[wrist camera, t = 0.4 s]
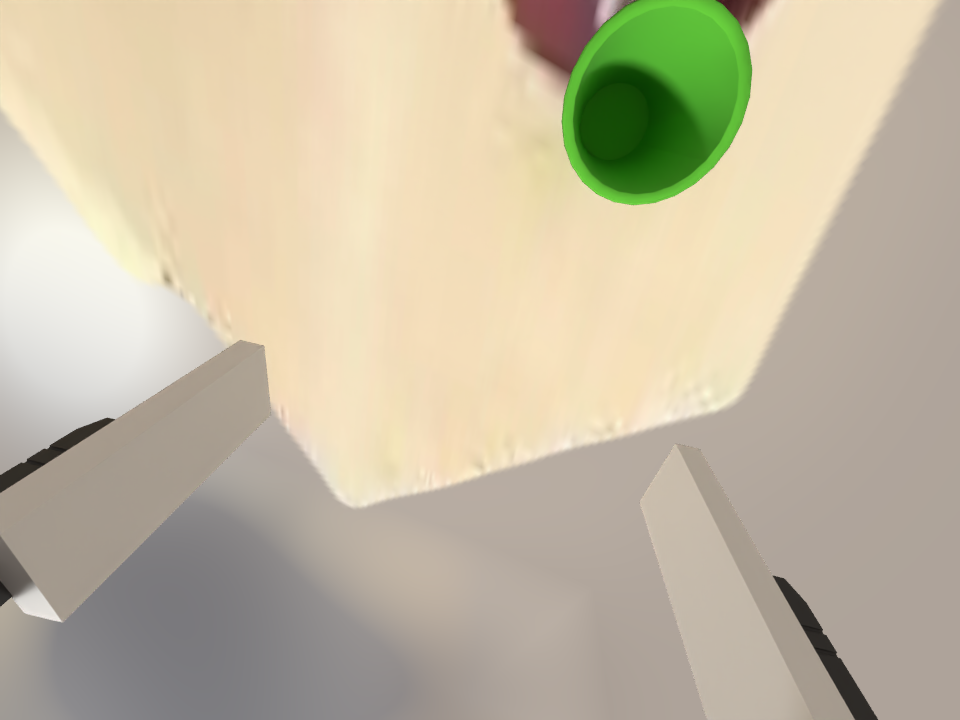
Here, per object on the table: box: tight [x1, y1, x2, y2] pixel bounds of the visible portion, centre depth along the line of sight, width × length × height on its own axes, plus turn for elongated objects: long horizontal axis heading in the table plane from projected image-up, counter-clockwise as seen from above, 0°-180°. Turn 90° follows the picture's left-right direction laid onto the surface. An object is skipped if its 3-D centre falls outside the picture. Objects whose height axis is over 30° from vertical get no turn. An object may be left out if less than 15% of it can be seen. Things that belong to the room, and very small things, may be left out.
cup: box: [562, 0, 752, 205], centre depth 24 cm, size 9×9×11 cm
